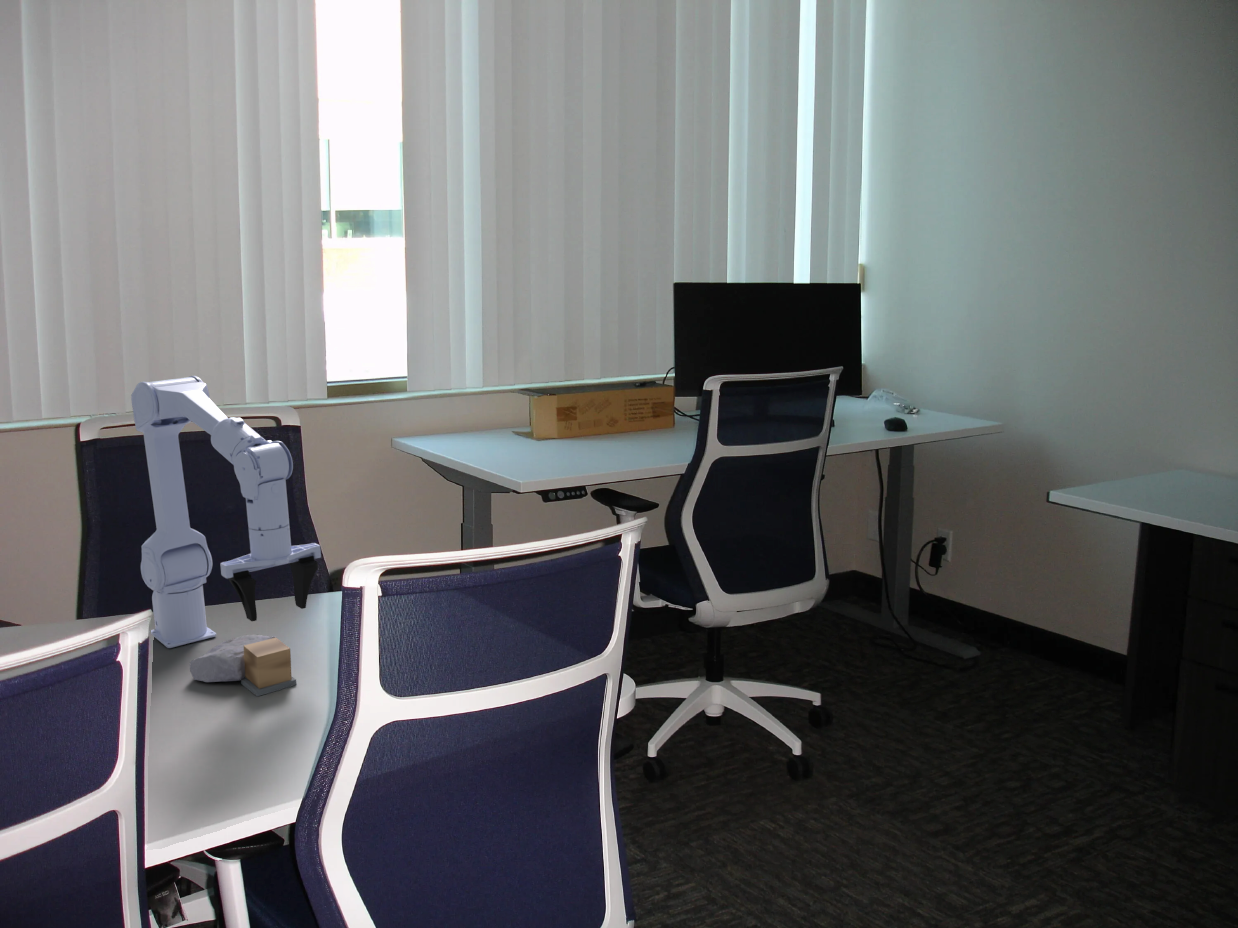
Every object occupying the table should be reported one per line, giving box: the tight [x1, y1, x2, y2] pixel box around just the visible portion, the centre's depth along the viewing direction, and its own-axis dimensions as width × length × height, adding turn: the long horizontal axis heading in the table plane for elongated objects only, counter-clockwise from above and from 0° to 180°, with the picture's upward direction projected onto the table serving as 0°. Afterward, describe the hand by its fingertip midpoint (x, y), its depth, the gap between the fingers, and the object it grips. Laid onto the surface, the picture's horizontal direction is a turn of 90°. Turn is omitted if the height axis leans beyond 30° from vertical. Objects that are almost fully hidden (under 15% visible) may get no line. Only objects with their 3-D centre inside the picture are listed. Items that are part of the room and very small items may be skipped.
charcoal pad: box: [240, 675, 297, 697], centre depth 157 cm, size 6×6×1 cm
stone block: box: [189, 634, 277, 683], centre depth 162 cm, size 12×5×10 cm
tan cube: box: [244, 637, 293, 689], centre depth 156 cm, size 5×5×5 cm
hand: (276, 612), depth 157 cm, fingers open, 7 cm apart
